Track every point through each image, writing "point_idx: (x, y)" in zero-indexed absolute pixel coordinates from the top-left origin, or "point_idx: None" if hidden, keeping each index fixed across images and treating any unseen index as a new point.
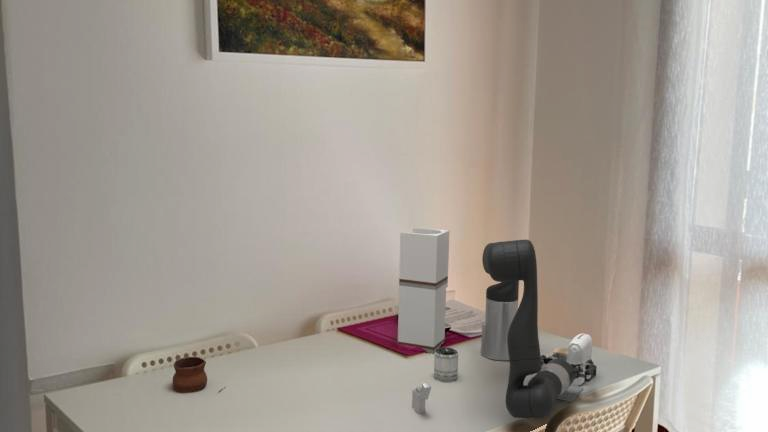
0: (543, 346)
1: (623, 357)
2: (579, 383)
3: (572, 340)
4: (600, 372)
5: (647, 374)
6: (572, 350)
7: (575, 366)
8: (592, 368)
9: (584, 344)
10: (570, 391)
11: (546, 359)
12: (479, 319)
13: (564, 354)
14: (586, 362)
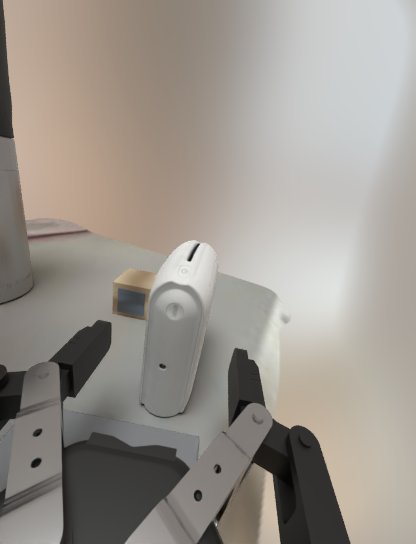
0: (111, 260)
1: (228, 276)
2: (183, 409)
3: (166, 267)
4: (213, 320)
5: (283, 312)
6: (166, 312)
7: (205, 531)
8: (330, 510)
9: (212, 282)
10: None
11: (3, 399)
12: (33, 220)
13: (140, 289)
14: (241, 391)
